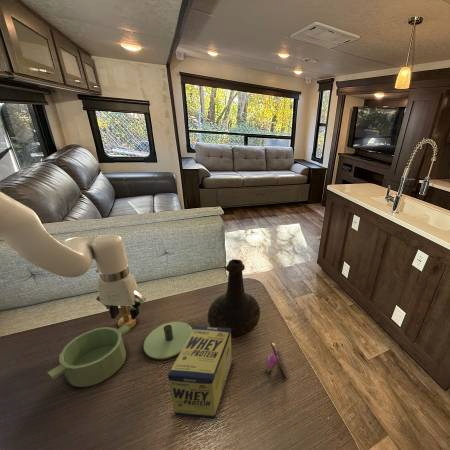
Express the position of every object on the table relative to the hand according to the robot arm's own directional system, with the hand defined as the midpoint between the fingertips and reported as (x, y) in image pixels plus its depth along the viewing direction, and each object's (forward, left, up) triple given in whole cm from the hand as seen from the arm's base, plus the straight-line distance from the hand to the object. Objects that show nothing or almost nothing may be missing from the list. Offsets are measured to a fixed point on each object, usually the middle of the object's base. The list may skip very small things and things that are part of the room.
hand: (125, 315), depth 85 cm
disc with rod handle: (0, 0, -4) cm, 4 cm away
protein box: (+40, -2, -4) cm, 40 cm away
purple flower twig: (+53, +13, -4) cm, 55 cm away
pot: (+8, -13, -4) cm, 16 cm away
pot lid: (+18, +3, -3) cm, 19 cm away
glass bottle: (+32, +19, -4) cm, 37 cm away
